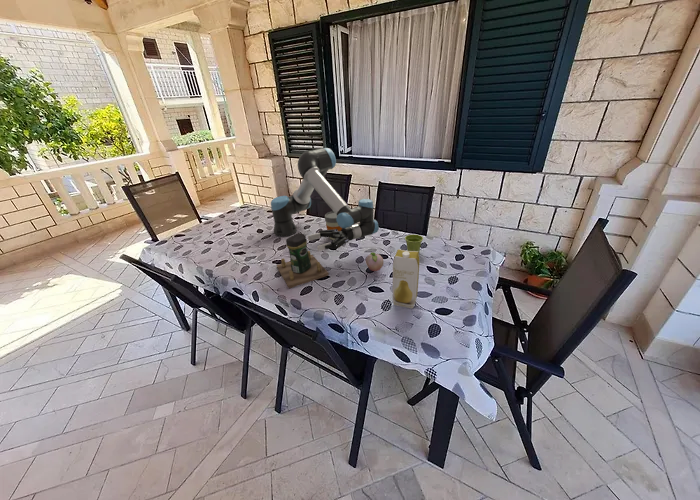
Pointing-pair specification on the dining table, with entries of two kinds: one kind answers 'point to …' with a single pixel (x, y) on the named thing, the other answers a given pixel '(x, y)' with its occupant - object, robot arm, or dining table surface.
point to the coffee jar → (298, 253)
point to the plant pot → (413, 242)
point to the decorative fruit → (374, 261)
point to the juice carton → (405, 278)
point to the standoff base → (301, 278)
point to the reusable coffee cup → (332, 222)
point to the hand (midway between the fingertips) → (312, 243)
